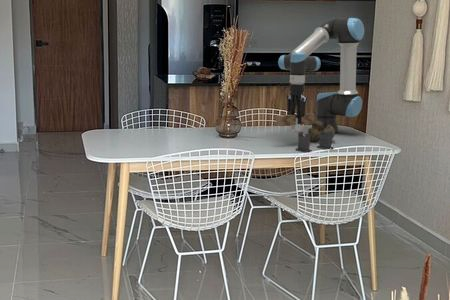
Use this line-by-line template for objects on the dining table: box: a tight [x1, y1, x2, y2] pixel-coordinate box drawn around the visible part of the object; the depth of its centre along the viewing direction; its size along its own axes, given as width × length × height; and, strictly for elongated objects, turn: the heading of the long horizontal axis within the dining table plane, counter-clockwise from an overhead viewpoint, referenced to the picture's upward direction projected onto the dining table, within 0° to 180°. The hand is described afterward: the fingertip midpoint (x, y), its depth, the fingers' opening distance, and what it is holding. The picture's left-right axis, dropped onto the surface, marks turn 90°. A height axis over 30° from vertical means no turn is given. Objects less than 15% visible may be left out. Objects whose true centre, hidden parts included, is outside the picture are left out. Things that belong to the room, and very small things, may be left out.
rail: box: [275, 113, 315, 127], centre depth 301 cm, size 22×4×5 cm, turn 123°
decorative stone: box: [307, 120, 336, 142], centre depth 314 cm, size 16×11×15 cm
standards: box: [294, 130, 334, 153], centre depth 290 cm, size 18×7×9 cm, turn 123°
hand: (295, 129), depth 302 cm, fingers closed on rail, 3 cm apart
